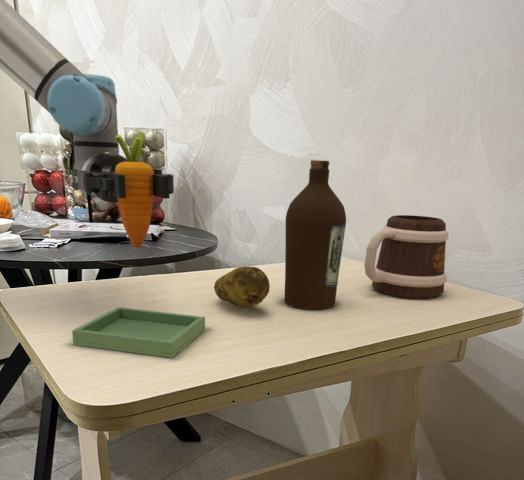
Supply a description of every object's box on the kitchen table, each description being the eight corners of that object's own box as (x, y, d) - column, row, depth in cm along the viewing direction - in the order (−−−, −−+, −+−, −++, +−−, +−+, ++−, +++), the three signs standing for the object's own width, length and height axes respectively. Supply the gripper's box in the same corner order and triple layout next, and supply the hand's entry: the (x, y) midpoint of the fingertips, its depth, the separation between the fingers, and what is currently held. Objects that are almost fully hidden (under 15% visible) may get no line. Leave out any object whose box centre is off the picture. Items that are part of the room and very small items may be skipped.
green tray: (73, 344, 71) (71, 330, 71) (118, 319, 83) (117, 306, 82) (172, 358, 68) (171, 343, 67) (205, 329, 80) (205, 316, 79)
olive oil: (272, 305, 94) (279, 158, 85) (292, 293, 103) (300, 159, 95) (329, 314, 90) (343, 161, 82) (344, 300, 100) (357, 162, 91)
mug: (405, 280, 119) (414, 212, 114) (459, 295, 107) (473, 221, 102) (337, 288, 109) (344, 214, 104) (389, 306, 97) (400, 224, 92)
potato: (255, 298, 99) (257, 256, 96) (273, 318, 87) (275, 270, 84) (212, 299, 97) (212, 256, 94) (224, 319, 85) (224, 271, 82)
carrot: (119, 251, 70) (112, 130, 64) (119, 245, 74) (112, 131, 69) (156, 251, 71) (152, 132, 66) (154, 245, 75) (151, 133, 70)
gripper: (163, 201, 90) (211, 217, 70) (52, 201, 82) (72, 218, 63) (162, 155, 87) (211, 157, 68) (47, 150, 79) (66, 152, 60)
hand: (144, 187), depth 65 cm, fingers closed on carrot, 5 cm apart
